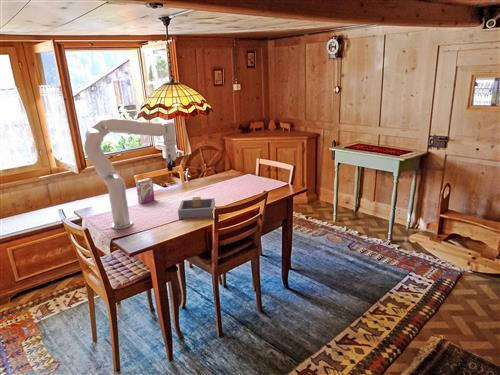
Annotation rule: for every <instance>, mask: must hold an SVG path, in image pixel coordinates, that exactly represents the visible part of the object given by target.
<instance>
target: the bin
mask: <svg viewBox="0 0 500 375" xmlns="http://www.w3.org/2000/svg"><path fill="white" fill-rule="evenodd" d="M201 207H202V208H196V209H193V203H192V199H183V200H181V202H180V204H179V207H178V209H177V214H178V220H189V219H190V220H191V219H205V218H207V219H208V218H209V219H210V218H214V217H213V213H212V211H213V208H214V207H215V208H216V200H215V198H201Z"/></svg>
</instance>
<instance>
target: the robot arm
mask: <svg viewBox="0 0 500 375" xmlns="http://www.w3.org/2000/svg"><path fill="white" fill-rule="evenodd" d="M110 133H115V134H129V135H137V136H139V135H140V136H141V135H142V136H147V137H151V136H152V137H162V138H163V140H162V141H163V145H164V147H165V160H166V164H167V171H168V172H172V171H174V169H173V168H176V159H177V150H176V145H177V142H176V140H177V139H176V126H175V122H173V121H172V122H171V121H165V122H147V121H140V120H137V119H134V118H133V119H129V118H120V117H112V116H106V117H103V118H102V119H101V120H99V121H98V122H96V124H94V125H92V126H91V127H90V128H88V129H87V130H86V132H85V135H84V136H85V142H84V152H85V154H86V156H87V158H88V160H89V161H90V163H91V164H92V165H93V167H94V170H95V172H96V173H97V174H98V175H99V177H100V179H101V180H102V181H103V182H104V184H105V185H106V187H107V189H108V197H109V203H110V208H111V215H112V221H113V222H112V223H111V228H112V229H114V230H123V229H127V228H130V227H131V226H133V225H134V221H133V220H132V219H131V218H130V212H129V204H128V200H127V198H128V197H127V193H126V192H127V190H126V189H127V188H126V183H125V180H124V178H123V177H122V176H120V175H119V173H118V172H117V170H116V169H115V167H114V165H113V163H112V162H111V161H110V160H109V158H108V157H107V156H106V155H105V153H104V150H103V149H102V143H103V141H104V137H106V136H107V135H108V134H110Z"/></svg>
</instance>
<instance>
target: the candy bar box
mask: <svg viewBox="0 0 500 375" xmlns="http://www.w3.org/2000/svg"><path fill="white" fill-rule="evenodd" d="M135 185H136V192H137V201H138V203H139V204H140V205H141V204H142V205H143V204H146V203H149V202H152V201H154V200H155V193H154V192H155V191H154V183H153V178H151V177H147V178H144V179H139V180H136V181H135Z"/></svg>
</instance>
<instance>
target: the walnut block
mask: <svg viewBox="0 0 500 375" xmlns="http://www.w3.org/2000/svg"><path fill="white" fill-rule="evenodd" d="M201 199H202V198H201V196H196V197H192V199H191V200H192V203H193V209H196V208H202V207H201Z"/></svg>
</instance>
